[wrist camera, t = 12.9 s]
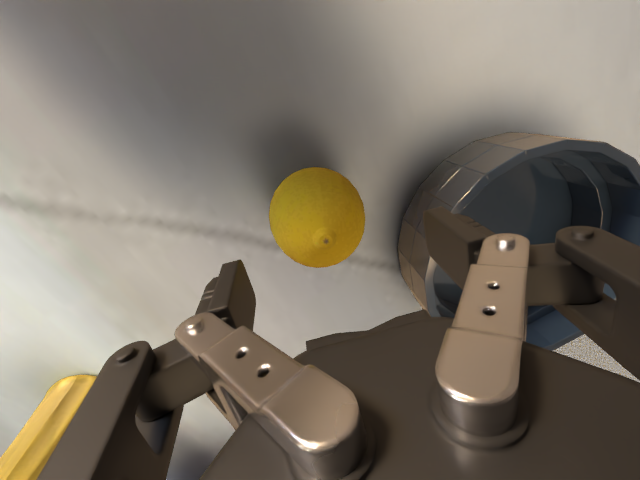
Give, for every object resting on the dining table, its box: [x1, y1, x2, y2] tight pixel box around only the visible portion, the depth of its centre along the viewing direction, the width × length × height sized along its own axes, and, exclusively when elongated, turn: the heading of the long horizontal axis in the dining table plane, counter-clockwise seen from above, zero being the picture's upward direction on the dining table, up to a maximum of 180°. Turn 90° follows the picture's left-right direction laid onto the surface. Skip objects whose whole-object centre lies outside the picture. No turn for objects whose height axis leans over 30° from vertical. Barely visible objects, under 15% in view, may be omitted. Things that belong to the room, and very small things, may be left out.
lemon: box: [269, 167, 365, 268], centre depth 19 cm, size 6×6×8 cm
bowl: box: [398, 132, 640, 351], centre depth 23 cm, size 15×15×6 cm
